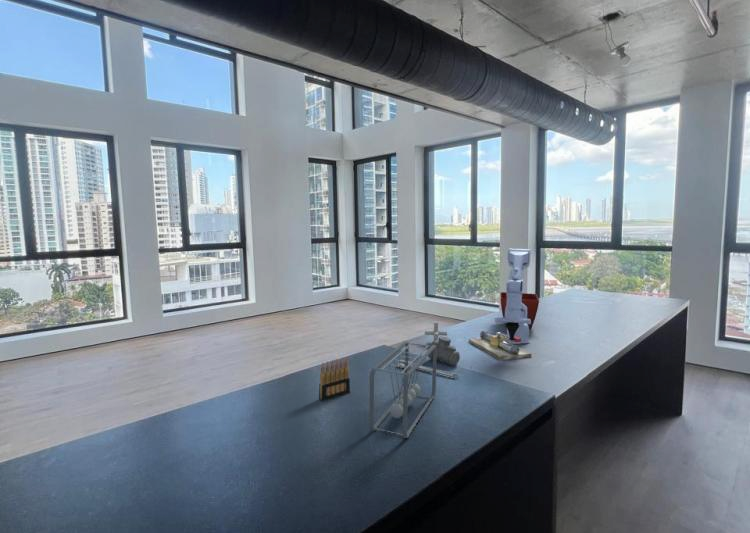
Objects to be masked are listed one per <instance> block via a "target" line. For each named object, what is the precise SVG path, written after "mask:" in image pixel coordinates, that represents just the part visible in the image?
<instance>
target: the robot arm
mask: <svg viewBox="0 0 750 533" xmlns="http://www.w3.org/2000/svg"><path fill="white" fill-rule="evenodd" d="M530 263H531V249H530V248H528V249H527V248H510V247H509V248H508V250H507V264H508V266H509V267H511V269H510V270H509V275H508V280H506V286H505V291H506V292H507V305H506V309H505V317H503V316H502V317H494V323H495V324H499V323H500V324H504V325H505V324H506V326H507V328H506V329H507V330H506V335H508V336H510V339H509V338H507V342H509V343H511V344H513V345H518V344H530V341H529V339H530V329H529V327H528V325H527V324H531V319H527V307H526V306H525V305H524V304H523V303H522V293H524V272H525V269H527V268H529V267H530ZM521 309H523V310H521ZM514 336H515V337H518V338H521V342H515V341H513V338H514Z"/></svg>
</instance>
